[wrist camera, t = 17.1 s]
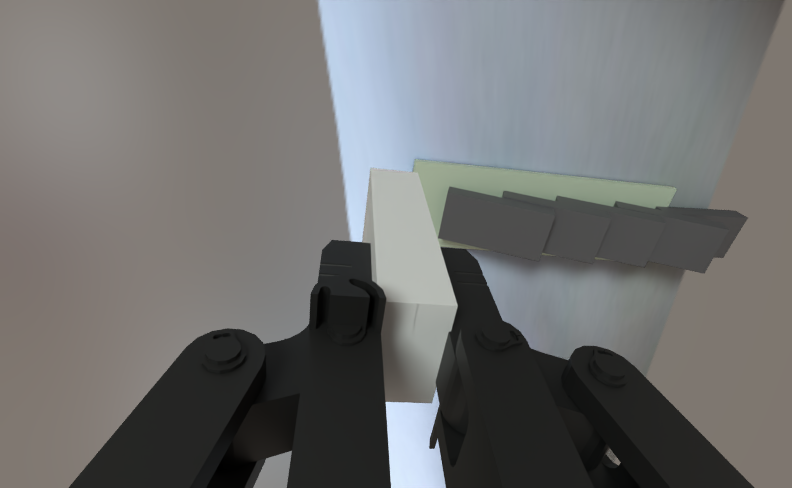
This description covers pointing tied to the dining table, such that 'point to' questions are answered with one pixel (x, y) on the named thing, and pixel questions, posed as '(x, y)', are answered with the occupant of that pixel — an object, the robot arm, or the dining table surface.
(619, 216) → the domino
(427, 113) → the dining table surface
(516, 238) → the domino
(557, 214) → the domino
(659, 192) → the strip
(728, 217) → the domino
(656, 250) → the domino
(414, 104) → the dining table surface
